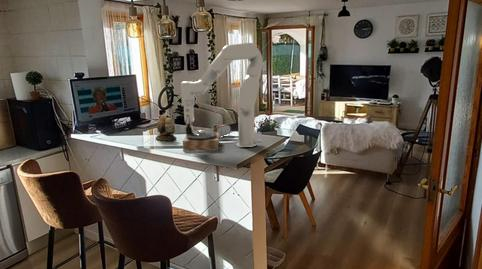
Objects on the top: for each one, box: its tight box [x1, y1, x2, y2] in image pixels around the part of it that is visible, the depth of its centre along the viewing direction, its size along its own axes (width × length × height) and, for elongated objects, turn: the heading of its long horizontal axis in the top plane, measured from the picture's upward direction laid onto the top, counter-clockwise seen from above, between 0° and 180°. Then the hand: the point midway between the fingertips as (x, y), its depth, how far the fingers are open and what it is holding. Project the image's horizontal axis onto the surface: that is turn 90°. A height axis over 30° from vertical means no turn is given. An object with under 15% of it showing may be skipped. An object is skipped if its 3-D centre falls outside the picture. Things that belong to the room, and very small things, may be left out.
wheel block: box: [182, 133, 220, 152], centre depth 210 cm, size 20×20×6 cm
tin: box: [213, 123, 232, 137], centre depth 233 cm, size 15×3×8 cm, turn 141°
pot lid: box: [185, 124, 216, 139], centre depth 208 cm, size 18×18×6 cm
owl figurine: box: [155, 113, 177, 143], centre depth 228 cm, size 18×12×17 cm, turn 47°
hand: (189, 132), depth 208 cm, fingers open, 5 cm apart
